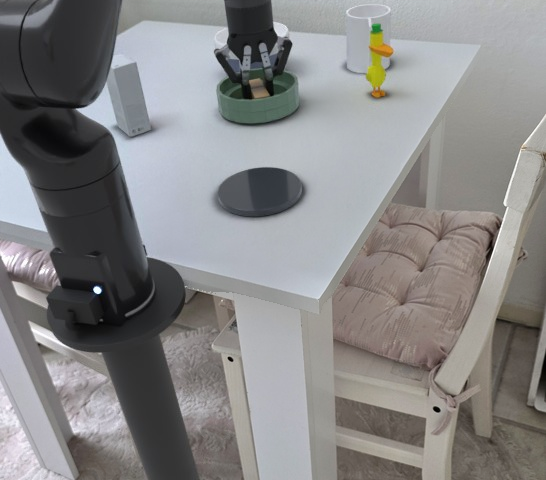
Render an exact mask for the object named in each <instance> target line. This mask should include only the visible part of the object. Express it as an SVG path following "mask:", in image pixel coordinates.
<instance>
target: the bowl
mask: <svg viewBox="0 0 546 480" xmlns="http://www.w3.org/2000/svg"><path fill="white" fill-rule="evenodd" d="M273 25H274V30H275V32H276V33H277V36H280V37H288V38H289V39H290V31H289V28H288V27H287V26H286V24H283V23H281V22H277V21H273ZM228 35H229V33H228V26H227V27H224V28H222V29H220V30H219V31H217V32H216V33H215V35H214V37H213V45H214V50H215V49H217V48H218V49H221V48H222V47H223V46H225V45H226V44H227V39H228ZM278 51H279V49H278V48H277V43H276V44H275V46H274V48H273V50H272V51H271V53H270V55H269V60H270V64H271V67H273V66H274V63H275V60H276V57H277V54H278ZM229 56H230V59H229V60H228V63H229V64H230V66H231V67H232V69H233V70H234V72H235V73H237V72H240V66H239V59H238V58H237V57H236V56H235V55H234V53H233V52H232V51H231V50H230V52H229ZM257 68H262V65H261V63H260V62H254V63H252V64H250V69H257Z"/></svg>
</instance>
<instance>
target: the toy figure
mask: <svg viewBox="0 0 546 480" xmlns="http://www.w3.org/2000/svg"><path fill="white" fill-rule="evenodd" d="M371 26H372V31H370V46H369V48H370V50H371V59H372V65H371V67H369V66H368V73H365V79H366V81H367V82H368V83H369V84H370V85H371V87H372V90H373V91H372V92H371V95H372V97H374V98H377V99H378V98H381V97H385V96H386V92H385V90H383V89H381V86H382V85H383V83H384V82H385V80H386V77H387V73H386V69H385V70H384V68H383V67H382V65H381V59H382V56H384V57H390V58H391V56H392V55H394V48H393V47H392V46H391V45H390V46H388V45H386V44H384V43H383V33H382V31H383V30H382V29H381V24H373V25H371Z"/></svg>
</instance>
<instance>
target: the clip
mask: <svg viewBox="0 0 546 480" xmlns="http://www.w3.org/2000/svg"><path fill="white" fill-rule="evenodd" d="M249 83H250V85H251V93H252V100H253V99H263V98H267V97H270V95H269V93H268V92H267V90H266V88H265V86H264V85H263V83H262V81H261V80H260V78H259V79H253V80H249Z"/></svg>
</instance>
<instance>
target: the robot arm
mask: <svg viewBox="0 0 546 480" xmlns="http://www.w3.org/2000/svg"><path fill="white" fill-rule="evenodd" d="M223 3H224V9H225V17H226V25H227V27H228V33H229V35H228V39H227V44H226V45H225V46H223V47H222V48H221V49H218V48H217V49H215V48H214V49H213V55H214V56H215V58H216V60H217V62H218V63H219V64H220V66H221V68H222V69H223V70H224V72H225V74H226V75H227V76H228V77H229V78H230V80H231V81H232V83H234V84H235V83H240V84H241V89H242V97H243V99H246V100H252V93H251V85H250V83H249V72H250V64H252V63H254V62H260V63H261V65H262V69H263V73H264V78H263V84H264V86H265V88H266V90H267V92H268V93H269V95H270V97H272V96H274V87H273V79H274V77H276V76H278V75H279V76H280V75H282V74H283V71H284V70H285V68H286V65H287V62H288V60H289V56H290V55H291V54H290V53H291V51H292V47H293V42H292V40H291V39H290V37H289V38H288V37H280V36H277V33H276V32H275V30H274V25H273V22H274V14H273V3H272V0H223ZM122 6H123V0H0V137H1V139H2V141H3V144H4V146H5V148H6V149H7V151H8V153H9V154H10V156H11V157H12V158H13V159H14V161H15V162H16V163H17V164H18V165H19V166H20V167H21V168H22V170H23V171H24V174H25V177H26V179H27V181H28V183H29V185H30V188H31V191H32V194H33V196H34V199H35V202H36V205H37V208H38V210H39V213H40V215H41V218H42V221H43V223H44V226H45V229H46V231H47V234H48V237H49V240H50V242H51V245H52V249H51V250H50V251H49V258H50V260H51V263H52V266H53V268H54V271H55V274H56V276H57V280H58V282H59V284H60V285H58V284H56V285H55V286H54V287H53V289H52V290H51V291H50V292H49V293H48V294H47V296H46V297H45V299H46V302H47V305H48V304H49V307H50V309H51V312H52V314H53V316H54V319H60V320H65V326H66V328H67V329H68V330H70V331H76V330H78V331H79V330H80V329H81V324H80V323H87V324H94V325H97V324H103V325H110V326H117V327H121V326H123V324H124V323H125V322H126V321H127V320H128V319H131V318H133V317H135V316H137V315H138V314H140V313H141V312H143V311H144V310H145V309H146V308H147V307H148V306H149V305H150V304H151V303H152V301H153V300H154V297H155V294H156V288H155V284H154V280H153V278H152V276H151V273H150V269H149V265H148V261H147V258H148V252H147V249H146V245H145V244H144V243H143V239H142V236H141V233H140V228H139V225H138V222H137V217H136V214H135V210H134V207H133V201H132V199H131V195H130V192H129V187H128V185H127V180H126V175H125V173H124V168H123V165H122V161H121V158H120V154H119V150H118V145H117V142H116V140H115V137H114V136H113V134H112V132H111V131H110V130H109V129H108V128H107V127H105V125H103V124H101V123H99V122H97V121H96V120H94V119H92V118H90V117H88V116H86V115H85V114H83V113H82V112H80V111H79V110H78V109H84V108H87V107H89V106H91V105H92V104H94V103H95V102H96V101H97V100H98V98H99V97H100V96H101V94H102V93H103V91H104V89H105V87H106V85H107V83H106V81H107V78H108V75H109V72H110V68H111V64H112V60H113V56H115V50H116V44H117V37H118V31H119V24H120V18H121V13H122V12H121V11H122ZM276 43H277V48H278V49H279V51H278V54H277V57H276V60H275V63H274V66H273V67H271V64H270V60H269V55H270V53H271V51H272V50H273V48H274V46H275V44H276ZM230 50H231V51H232V52H233V53H234V55H235V56H236V57H237V58H238V59H239V66H240V74H238V73H235V72H234V70H233V69H232V67H231V66H230V64H229V63H228V60H229V59H230V56H229V52H230ZM146 257H147V258H146ZM73 322H80V323H73Z"/></svg>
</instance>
